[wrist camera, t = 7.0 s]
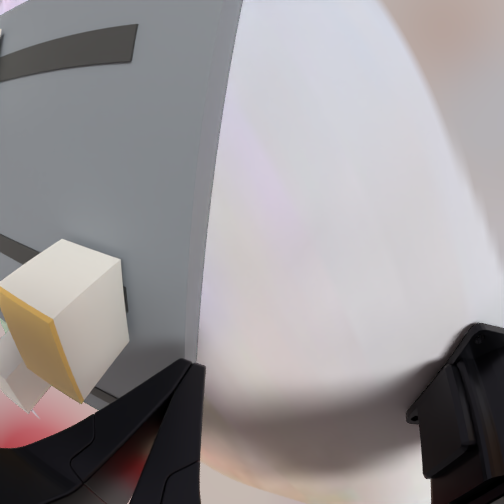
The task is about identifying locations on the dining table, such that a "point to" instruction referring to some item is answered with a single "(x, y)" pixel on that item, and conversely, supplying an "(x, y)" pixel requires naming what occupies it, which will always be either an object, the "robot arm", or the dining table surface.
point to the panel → (117, 154)
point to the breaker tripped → (67, 315)
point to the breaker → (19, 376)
